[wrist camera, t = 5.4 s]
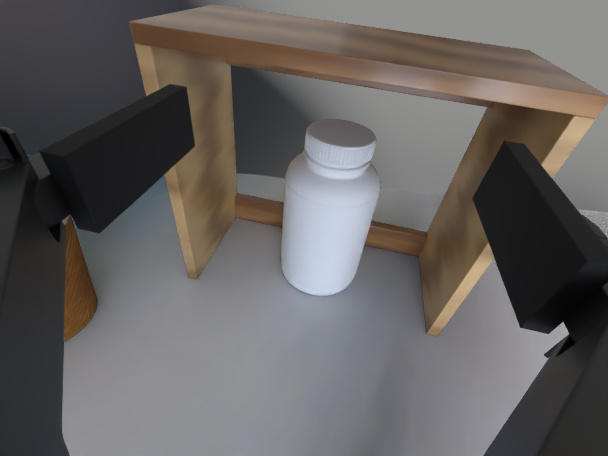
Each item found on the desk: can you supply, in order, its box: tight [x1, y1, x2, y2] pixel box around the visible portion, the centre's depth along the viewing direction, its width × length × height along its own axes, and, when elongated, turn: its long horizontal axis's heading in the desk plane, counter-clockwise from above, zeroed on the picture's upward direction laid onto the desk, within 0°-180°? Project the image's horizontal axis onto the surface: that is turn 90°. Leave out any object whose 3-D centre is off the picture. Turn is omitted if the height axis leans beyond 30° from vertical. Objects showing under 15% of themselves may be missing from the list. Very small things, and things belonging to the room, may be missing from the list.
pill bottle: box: [281, 119, 380, 296], centre depth 28 cm, size 8×8×15 cm
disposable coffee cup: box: [62, 214, 97, 341], centre depth 22 cm, size 10×10×12 cm
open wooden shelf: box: [129, 4, 608, 336], centre depth 26 cm, size 11×24×21 cm, turn 78°
